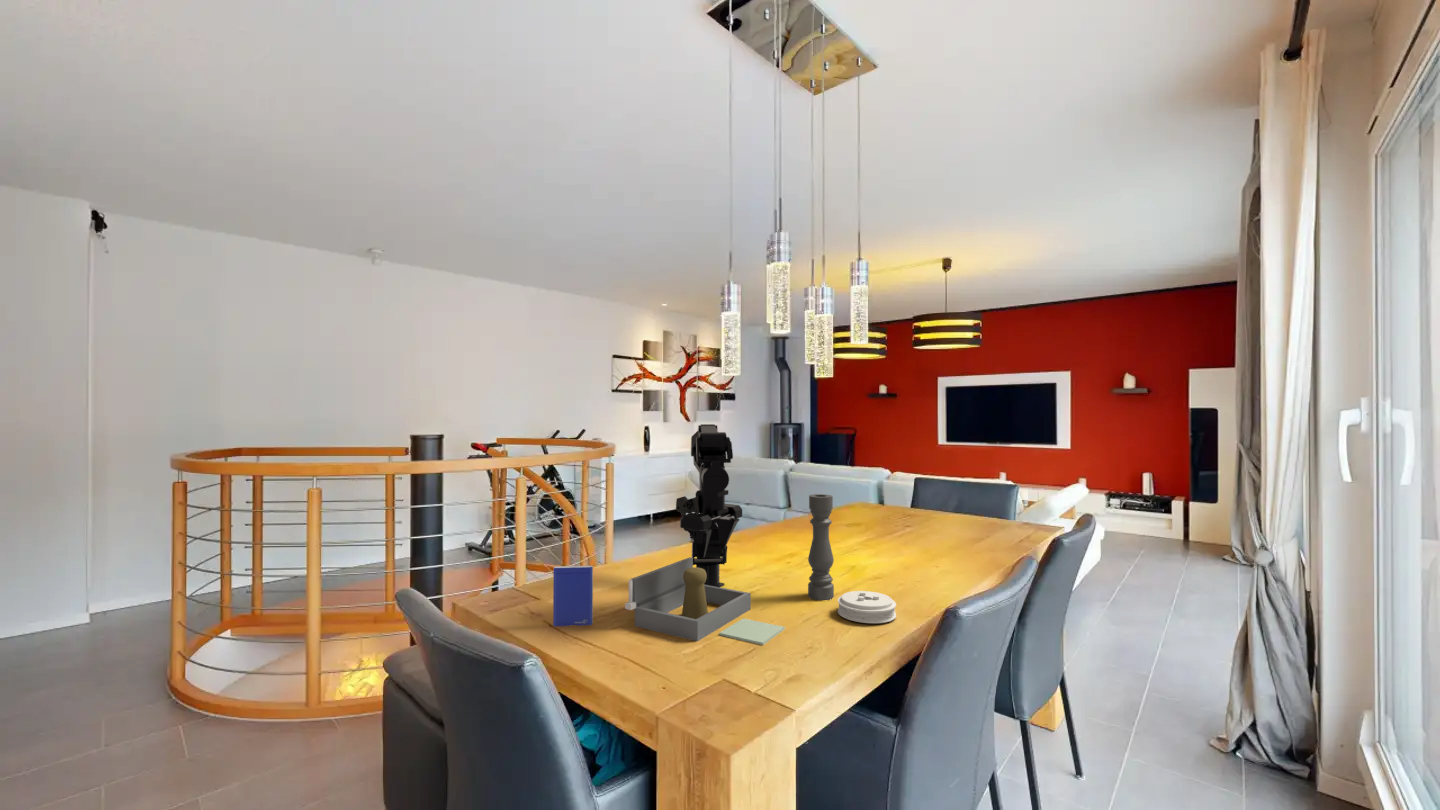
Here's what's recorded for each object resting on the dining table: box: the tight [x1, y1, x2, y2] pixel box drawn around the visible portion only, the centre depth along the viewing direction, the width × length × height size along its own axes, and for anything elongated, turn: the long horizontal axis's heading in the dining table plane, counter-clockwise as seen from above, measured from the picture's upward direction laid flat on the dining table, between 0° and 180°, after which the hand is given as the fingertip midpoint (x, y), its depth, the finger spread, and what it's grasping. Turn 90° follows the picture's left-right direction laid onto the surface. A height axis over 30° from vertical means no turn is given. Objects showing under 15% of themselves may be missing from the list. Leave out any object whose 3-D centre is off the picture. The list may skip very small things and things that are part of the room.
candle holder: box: [807, 493, 835, 602], centre depth 148 cm, size 6×6×25 cm
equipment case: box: [624, 556, 752, 642], centre depth 133 cm, size 24×17×10 cm
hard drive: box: [552, 565, 594, 627], centre depth 129 cm, size 2×8×12 cm, turn 95°
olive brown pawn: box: [681, 566, 709, 619], centre depth 133 cm, size 6×6×11 cm
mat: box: [718, 618, 786, 646], centre depth 125 cm, size 10×10×1 cm
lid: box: [837, 590, 897, 624], centre depth 135 cm, size 13×13×5 cm
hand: (712, 553), depth 140 cm, fingers open, 9 cm apart
